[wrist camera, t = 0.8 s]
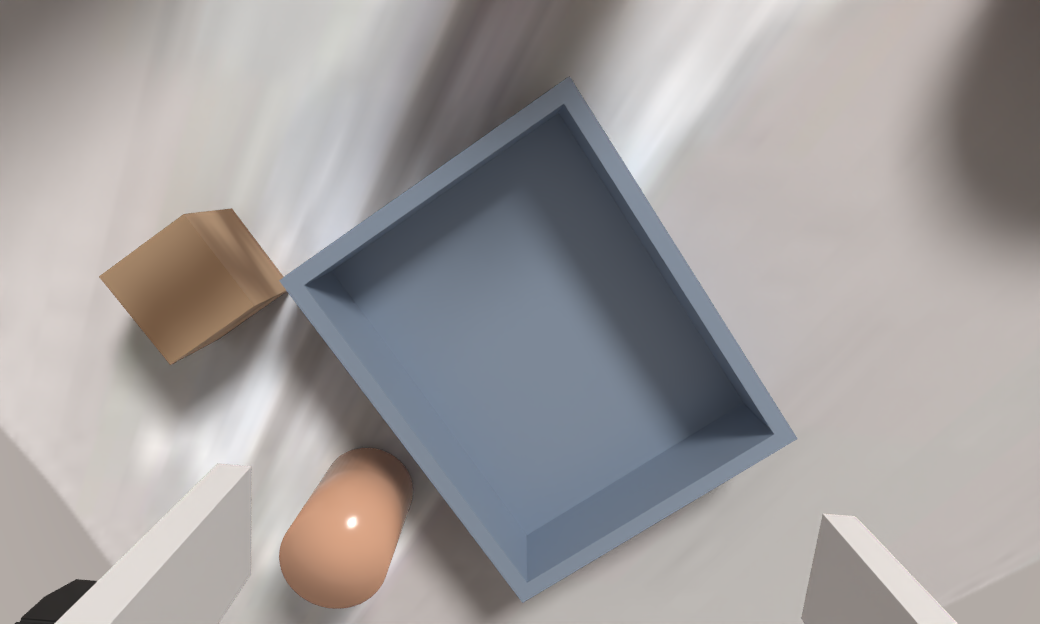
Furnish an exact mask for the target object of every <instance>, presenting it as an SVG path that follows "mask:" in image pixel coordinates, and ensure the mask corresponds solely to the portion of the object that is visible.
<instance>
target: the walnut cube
mask: <svg viewBox="0 0 1040 624" xmlns="http://www.w3.org/2000/svg"><path fill="white" fill-rule="evenodd" d="M99 277H100V279H101V280H102V281H103V282H104V283H105V285H106V286H107V287H108V288H109V290H110V291H111V292H112V293H113V295H114V296H115V297H116V298H117V300H118V301H119V302H120V303H121V305H122V306H123V307H124V308H125V309H126V311H127V312H128V313H129V314H130V316H131V317H132V318H133V319H134V321H135V322H136V323H137V324H138V326H139V327H140V328H141V329H142V330H143V332H144V333H145V334H146V335H147V337H148V338H149V339H150V340H151V342H152V343H153V344H154V345H155V347H156V348H157V349H158V350H159V351H160V353H161V354H162V355H163V356H164V358H165V359H166V360H167V361H168V363H169V364H170V365H171V364H173V363H175V362H177V361H179V360H181V359H183V358H184V357H186V356H188V355H190V354H192V353H194V352H196V351H197V350H199V349H201V348H203V347H205V346H207V345H209V344H211V343H212V342H214V341H216V340H218V339H220V338H221V337H222V336H224V335H225V334H227V333H228V332H230V331H231V330H232V329H234V328H235V327H237V326H238V325H240V324H241V323H242V322H244V321H245V320H247V319H248V318H250V317H251V316H252V315H254V314H255V313H257V312H258V311H259V310H261V309H262V308H264V307H265V306H267V305H268V304H269V303H271V302H272V301H274V300H275V299H277V298H278V297H279V296H281V295H282V294H284V293H285V292H287V291H286V289H285V288H284V287H283V285H282V284H281V283H280V281H279V280H280V279H282V278H283V276H282V274H281V273H280V272H279V270H278V269H277V268H276V266H275V265H274V264H273V262H272V261H271V260H270V258H269V257H268V256H267V254H266V253H265V252H264V250H263V249H262V248H261V246H260V245H259V244H258V242H257V241H256V240H255V238H254V237H253V236H252V234H251V233H250V232H249V231H248V229H247V228H246V227H245V225H244V224H243V223H242V221H241V220H240V219H239V217H238V216H237V215H236V213H235V212H234V211H233V209H224V210H215V211H206V212H198V213H189V214H183V215H182V216H181V217H179V218H178V219H176V220H175V221H174V222H172V223H171V224H170V225H168V226H167V227H166V228H164V229H163V230H162V231H160V232H159V233H157V234H156V235H155V236H153V237H152V238H151V239H149V240H148V241H147V242H145V243H144V244H143V245H141V246H140V247H138V248H137V249H136V250H134V251H133V252H132V253H130V254H129V255H128V256H126V257H125V258H123V259H122V260H121V261H119V262H118V263H117V264H115V265H114V266H113V267H111V268H110V269H109V270H107V271H106V272H104V273H103V274H102V275H100V276H99Z"/></svg>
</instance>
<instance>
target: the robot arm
mask: <svg viewBox="0 0 1040 624" xmlns="http://www.w3.org/2000/svg"><path fill="white" fill-rule="evenodd" d="M250 575H251V466H241V465H228V464H217V465H216V466H215V467H214V468H213V469H212V470H211V471H209V472H208V473H207V474H206V475H205V476H204V477H203V478H202V479H201V480H200V481H199V482H198V483H197V484H196V485H195V486H194V487H193V488H192V489H191V490H190V491H189V492H188V493H187V494H186V495H185V496H184V497H183V498H182V499H181V500H180V501H179V502H178V503H177V504H176V505H175V506H174V507H173V508H172V509H171V510H170V511H169V512H168V513H167V514H166V515H165V516H164V517H163V518H162V519H161V520H160V521H159V522H158V523H156V524H155V525H154V526H153V527H152V528H151V529H150V530H149V531H148V532H147V533H146V534H145V535H144V536H143V537H142V538H141V539H140V540H139V541H138V542H137V543H136V544H135V545H134V546H133V547H132V548H131V549H130V550H129V551H128V552H127V553H126V554H125V555H124V556H123V557H122V558H121V559H120V560H119V561H118V562H117V563H116V564H115V565H114V566H113V567H112V568H111V569H110V570H109V571H108V572H107V573H106V574H105V575H103V577H101V579H100V580H98V581H90V580H78V579H76V580H75V581H72V582H71V583H69V584H67V585H65V586H63V587H61V588H60V589H58V590H56V591H54V592H52V593H50V594H49V595H47V596H45V597H44V598H43V599H41V600H40V602H38V603H37V604H36V605H35V606H34V607H33V608H31V609H30V610H29V611H28V612H27V613H26V614H25V615H24V616H23V617H22V618H21V621H20V622H16V623H15V624H219V622H220V621H221V619H222V618H223V616H224V615H225V613H226V612H227V610H228V609H229V607H230V606H231V604H232V603H233V601H234V600H235V598H236V596H237V595H238V593H239V592H240V590H241V589H242V587H243V586H244V584H245V583H246V581H247V580H248V578H249V577H250ZM801 619H802V620H803V622H804V623H805V624H958V623H957V622H956V621H955V620H954V619H953V618H952V617H951V616H950V615H949V614H948V613H947V612H946V611H945V610H944V609H943V607H942V606H941V605H940V604H939V603H938V602H937V601H936V600H935V599H934V598H933V597H932V596H931V595H930V594H929V593H928V592H927V591H926V590H925V589H924V588H923V587H922V585H921V584H920V583H919V582H918V581H917V580H916V579H915V578H914V577H913V576H912V575H911V574H910V573H909V572H908V571H907V570H906V569H905V568H904V567H903V566H902V565H901V563H900V562H899V561H898V560H897V559H896V558H895V557H894V556H893V555H892V554H891V553H890V552H889V551H888V550H887V549H886V548H885V547H884V546H883V545H882V544H881V543H880V541H879V540H878V539H877V538H876V537H875V536H874V535H873V534H872V533H871V532H870V531H869V530H868V529H867V528H866V527H865V526H864V525H863V524H862V523H861V522H860V521H859V519H858V518H857V517H856V516H845V515H833V514H823V515H822V520H821V525H820V530H819V534H818V539H817V544H816V549H815V554H814V559H813V564H812V568H811V573H810V578H809V583H808V588H807V593H806V598H805V602H804V607H803V612H802V617H801Z"/></svg>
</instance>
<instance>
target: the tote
mask: <svg viewBox="0 0 1040 624" xmlns="http://www.w3.org/2000/svg"><path fill="white" fill-rule="evenodd" d="M279 281H280V283H281V284H282V285H283V287H284V288H285V289H286V291H287V292H288V293H289V294H290V296H291V297H292V298H293V300H294V301H295V302H296V304H297V305H298V306H299V308H300V309H301V310H302V312H303V313H304V314H305V316H306V317H307V318H308V320H309V321H310V322H311V324H312V325H313V326H314V328H315V329H316V330H317V332H318V333H319V334H320V336H321V337H322V338H323V339H324V341H325V342H326V343H327V345H328V346H329V347H330V349H331V350H332V351H333V353H334V354H335V355H336V357H337V358H338V359H339V361H340V362H341V363H342V365H343V366H344V367H345V369H346V370H347V371H348V373H349V374H350V375H351V377H352V378H353V379H354V380H355V382H356V383H357V384H358V386H359V387H360V388H361V390H362V391H363V392H364V394H365V395H366V396H367V398H368V399H369V400H370V402H371V403H372V404H373V406H374V407H375V408H376V410H377V411H378V412H379V414H380V415H381V416H382V418H383V419H384V420H385V421H386V423H387V424H388V425H389V427H390V428H391V429H392V431H393V432H394V433H395V435H396V436H397V437H398V439H399V440H400V441H401V443H402V444H403V445H404V447H405V448H406V449H407V451H408V452H409V453H410V455H411V456H412V457H413V459H414V460H415V461H416V463H417V464H418V465H419V466H420V468H421V469H422V470H423V472H424V473H425V474H426V476H427V477H428V478H429V480H430V481H431V482H432V484H433V485H434V486H435V488H436V489H437V490H438V492H439V493H440V494H441V496H442V497H443V498H444V500H445V501H446V502H447V504H448V505H449V506H450V507H451V509H452V510H453V511H454V513H455V514H456V515H457V517H458V518H459V519H460V521H461V522H462V523H463V525H464V526H465V527H466V529H467V530H468V531H469V533H470V534H471V535H472V537H473V538H474V539H475V541H476V542H477V543H478V545H479V546H480V547H481V548H482V550H483V551H484V552H485V554H486V555H487V556H488V558H489V559H490V560H491V562H492V563H493V564H494V566H495V567H496V568H497V570H498V571H499V572H500V574H501V575H502V576H503V578H504V579H505V580H506V582H507V583H508V584H509V586H510V587H511V588H512V590H513V591H514V592H515V593H516V595H517V596H518V597H519V599H520V600H521V601H522V603H523V602H525V601H527V600H528V599H530V598H532V597H533V596H535V595H537V594H538V593H540V592H542V591H543V590H545V589H547V588H548V587H550V586H552V585H553V584H555V583H557V582H558V581H560V580H562V579H563V578H565V577H567V576H568V575H570V574H572V573H573V572H575V571H577V570H578V569H580V568H582V567H583V566H585V565H587V564H589V563H590V562H592V561H594V560H595V559H597V558H599V557H600V556H602V555H604V554H605V553H607V552H609V551H610V550H612V549H614V548H615V547H617V546H619V545H620V544H622V543H624V542H625V541H627V540H629V539H630V538H632V537H634V536H635V535H637V534H639V533H640V532H642V531H644V530H645V529H647V528H649V527H651V526H652V525H654V524H656V523H657V522H659V521H661V520H662V519H664V518H666V517H667V516H669V515H671V514H672V513H674V512H676V511H677V510H679V509H681V508H682V507H684V506H686V505H687V504H689V503H691V502H692V501H694V500H696V499H697V498H699V497H701V496H702V495H704V494H706V493H707V492H709V491H711V490H713V489H714V488H716V487H718V486H719V485H721V484H723V483H724V482H726V481H728V480H729V479H731V478H733V477H734V476H736V475H738V474H739V473H741V472H743V471H744V470H746V469H748V468H749V467H751V466H753V465H754V464H756V463H758V462H759V461H761V460H763V459H764V458H766V457H768V456H769V455H771V454H773V453H775V452H776V451H778V450H780V449H781V448H783V447H785V446H786V445H788V444H790V443H791V442H793V441H795V440H796V439H797V437H796V436H795V434H794V432H793V431H792V429H791V428H790V426H789V424H788V423H787V421H786V420H785V418H784V417H783V415H782V413H781V412H780V410H779V409H778V407H777V405H776V404H775V402H774V401H773V399H772V397H771V396H770V394H769V393H768V391H767V389H766V388H765V386H764V385H763V383H762V382H761V380H760V378H759V377H758V375H757V374H756V372H755V370H754V369H753V367H752V366H751V364H750V362H749V361H748V359H747V358H746V356H745V354H744V353H743V351H742V350H741V348H740V347H739V345H738V343H737V342H736V340H735V339H734V337H733V335H732V334H731V332H730V331H729V329H728V327H727V326H726V324H725V323H724V321H723V320H722V318H721V316H720V315H719V313H718V312H717V310H716V308H715V307H714V305H713V304H712V302H711V300H710V299H709V297H708V296H707V294H706V292H705V291H704V289H703V288H702V286H701V285H700V283H699V281H698V280H697V278H696V277H695V275H694V273H693V272H692V270H691V269H690V267H689V265H688V264H687V262H686V261H685V259H684V257H683V256H682V254H681V253H680V251H679V250H678V248H677V246H676V245H675V243H674V242H673V240H672V238H671V237H670V235H669V234H668V232H667V230H666V229H665V227H664V226H663V224H662V222H661V221H660V219H659V218H658V216H657V215H656V213H655V211H654V210H653V208H652V207H651V205H650V203H649V202H648V200H647V199H646V197H645V195H644V194H643V192H642V191H641V189H640V188H639V186H638V184H637V183H636V181H635V180H634V178H633V176H632V175H631V173H630V172H629V170H628V168H627V167H626V165H625V164H624V162H623V160H622V159H621V157H620V156H619V154H618V153H617V151H616V149H615V148H614V146H613V145H612V143H611V141H610V140H609V138H608V137H607V135H606V133H605V132H604V130H603V129H602V127H601V125H600V124H599V122H598V121H597V119H596V118H595V116H594V114H593V113H592V111H591V110H590V108H589V106H588V105H587V103H586V102H585V100H584V98H583V97H582V95H581V94H580V92H579V90H578V89H577V87H576V86H575V84H574V83H573V81H572V79H571V78H570V76H569V77H567V78H566V79H564V80H563V81H562V82H560V83H559V84H557V85H556V86H555V87H553V88H552V89H550V90H549V91H547V92H546V93H545V94H543V95H542V96H540V97H539V98H537V99H536V100H535V101H533V102H532V103H530V104H529V105H528V106H526V107H525V108H523V109H522V110H520V111H519V112H518V113H516V114H515V115H513V116H512V117H510V118H509V119H508V120H506V121H505V122H503V123H502V124H501V125H499V126H498V127H496V128H495V129H493V130H492V131H491V132H489V133H488V134H486V135H485V136H483V137H482V138H481V139H479V140H478V141H476V142H475V143H474V144H472V145H471V146H469V147H468V148H466V149H465V150H464V151H462V152H461V153H459V154H458V155H456V156H455V157H454V158H452V159H451V160H449V161H448V162H447V163H445V164H444V165H442V166H441V167H439V168H438V169H437V170H435V171H434V172H432V173H431V174H429V175H428V176H427V177H425V178H424V179H422V180H421V181H420V182H418V183H417V184H415V185H414V186H412V187H411V188H410V189H408V190H407V191H405V192H404V193H402V194H401V195H400V196H398V197H397V198H395V199H394V200H393V201H391V202H390V203H388V204H387V205H385V206H384V207H383V208H381V209H380V210H378V211H377V212H375V213H374V214H373V215H371V216H370V217H368V218H367V219H366V220H364V221H363V222H361V223H360V224H358V225H357V226H356V227H354V228H353V229H351V230H350V231H348V232H347V233H346V234H344V235H343V236H341V237H340V238H339V239H337V240H336V241H334V242H333V243H331V244H330V245H329V246H327V247H326V248H324V249H323V250H321V251H320V252H319V253H317V254H316V255H314V256H313V257H312V258H310V259H309V260H307V261H306V262H304V263H303V264H302V265H300V266H299V267H297V268H296V269H294V270H293V271H292V272H290V273H289V274H287V275H286V276H285V277H283V278H282V279H280V280H279Z"/></svg>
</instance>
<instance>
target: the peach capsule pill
mask: <svg viewBox="0 0 1040 624" xmlns="http://www.w3.org/2000/svg"><path fill="white" fill-rule="evenodd" d="M412 498H413V484H412V480H411V477H410V475H409V473H408V471H407V469H406V468H405V466H404V465H403V464H402V463H401V462H400V461H399V460H398V459H397V458H396V457H394V456H393V455H391V454H389V453H387V452H385V451H382V450H379V449H375V448H358V449H354V450H351V451H348V452H346V453H344V454H343V455H341V456H340V457H338V458H337V459H336V460H335V461H334V462H333V464H332V465H331V466H330V468H329V469H328V471H327V472H326V474H325V475H324V477H323V478H322V480H321V481H320V483H319V484H318V486H317V487H316V489H315V490H314V492H313V493H312V495H311V496H310V498H309V499H308V501H307V502H306V504H305V505H304V507H303V508H302V510H301V511H300V513H299V514H298V516H297V517H296V519H295V520H294V522H293V523H292V525H291V526H290V528H289V529H288V531H287V532H286V534H285V536H284V538H283V540H282V543H281V547H280V553H279V560H280V566H281V570H282V573H283V576H284V578H285V579H286V581H287V583H288V584H289V585H290V587H291V588H292V589H293V590H294V591H295V592H296V593H297V594H298V595H299V596H301V597H302V598H304V599H305V600H307V601H309V602H311V603H313V604H315V605H318V606H322V607H326V608H348V607H352V606H355V605H358V604H361V603H362V602H364V601H366V600H368V599H369V598H370V597H372V596H373V595H374V594H375V593H376V592H377V591H378V589H379V588H380V587H381V585H382V584H383V582H384V579H385V577H386V574H387V571H388V568H389V566H390V563H391V560H392V557H393V554H394V551H395V548H396V545H397V542H398V539H399V537H400V534H401V531H402V528H403V525H404V522H405V519H406V516H407V513H408V511H409V508H410V505H411V502H412Z"/></svg>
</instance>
